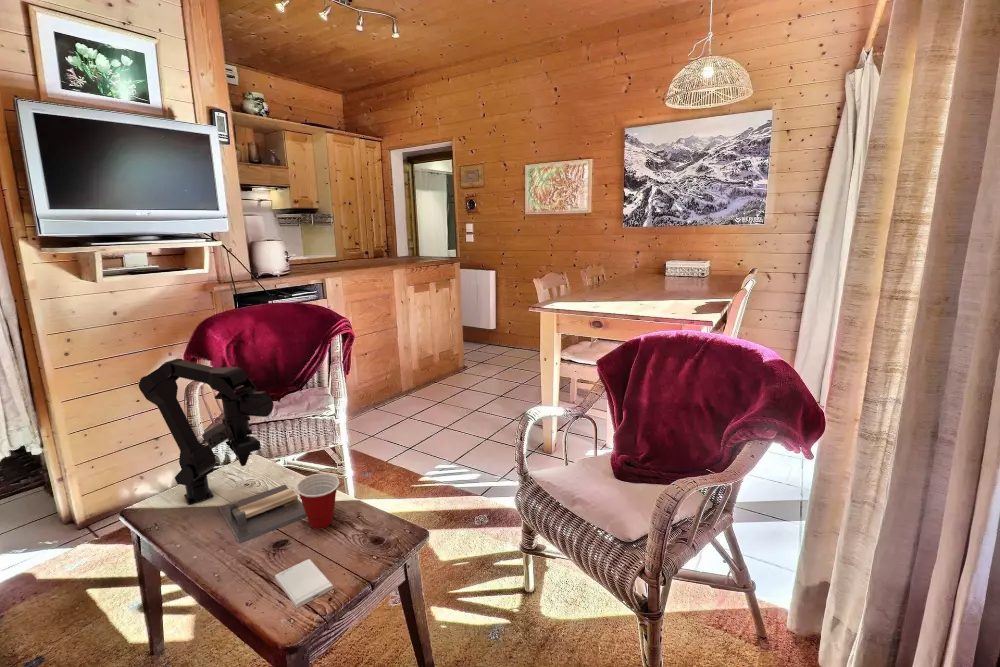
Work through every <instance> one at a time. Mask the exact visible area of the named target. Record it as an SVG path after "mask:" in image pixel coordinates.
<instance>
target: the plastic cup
mask: <svg viewBox="0 0 1000 667" xmlns="http://www.w3.org/2000/svg"><path fill="white" fill-rule="evenodd" d="M339 485H340V479H339V478H338V477H337V476H336V475H334V474H332V473H331V474H330V473H325V472H324V473H322V472H321V473H316V474H315V473H313V474H310V475H308V476H305V477H304V478H302V479H300V480H299V481H298V482H297V484H296V485H295V491H296V492H297V494H298V495H299V497H300V500H301V503H302V504H303V506H304V510H305V513H306V516H307V517H306V518H307V520H308V523H309V526H310V527H311V529H314V530H323V529H326V528H328V527H329V525H330V524H331V523H333V522H332V521H334V515H335V514H334V512H335V505H336V496H337V495H336V494H337V491H338V488H339ZM331 525H332V524H331ZM331 525H330V526H331Z"/></svg>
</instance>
